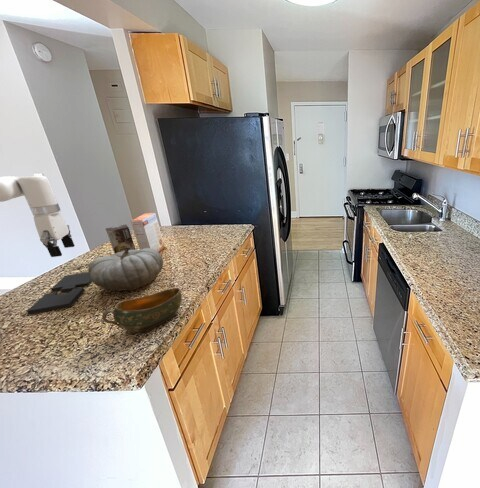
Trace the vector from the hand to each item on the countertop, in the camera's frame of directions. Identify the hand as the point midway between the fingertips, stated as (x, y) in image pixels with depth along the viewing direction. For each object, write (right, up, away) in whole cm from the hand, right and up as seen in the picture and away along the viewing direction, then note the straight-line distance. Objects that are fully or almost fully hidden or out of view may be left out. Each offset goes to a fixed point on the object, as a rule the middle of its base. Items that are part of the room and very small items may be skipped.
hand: (63, 251), depth 103 cm
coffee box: (-3, -4, +36) cm, 36 cm away
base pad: (+1, -19, -3) cm, 20 cm away
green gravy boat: (+45, -24, -15) cm, 53 cm away
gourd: (+21, -15, +9) cm, 27 cm away
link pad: (-4, -14, +9) cm, 17 cm away
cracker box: (+10, -2, +40) cm, 41 cm away
